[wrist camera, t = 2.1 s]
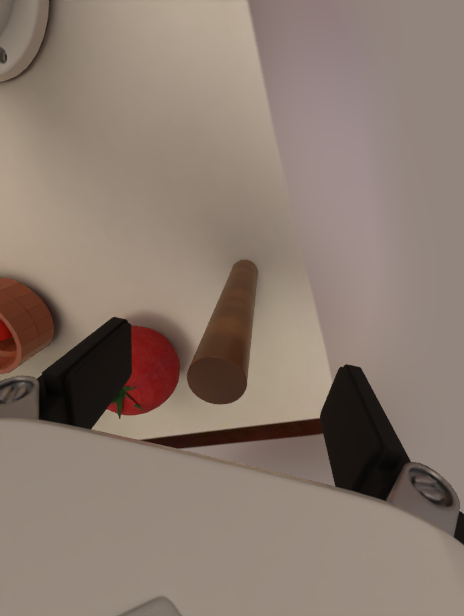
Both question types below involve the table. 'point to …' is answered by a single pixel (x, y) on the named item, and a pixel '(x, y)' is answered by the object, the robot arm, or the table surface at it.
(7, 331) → the cherry tomato
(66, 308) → the table surface
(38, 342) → the bowl
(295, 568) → the robot arm
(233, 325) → the stirring stick
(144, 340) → the tomato
